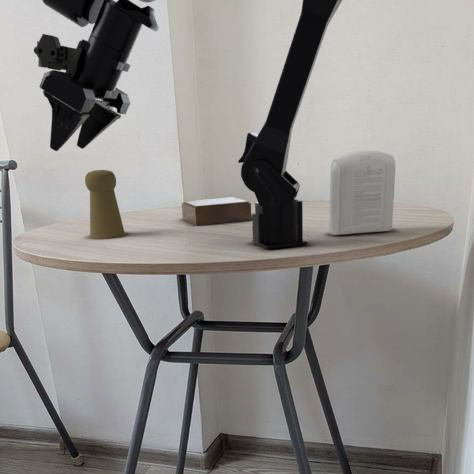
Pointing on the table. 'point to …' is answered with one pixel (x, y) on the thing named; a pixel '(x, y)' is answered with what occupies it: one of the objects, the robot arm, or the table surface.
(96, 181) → the cork
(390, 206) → the white upright block
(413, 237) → the table surface
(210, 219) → the block
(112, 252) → the table surface
